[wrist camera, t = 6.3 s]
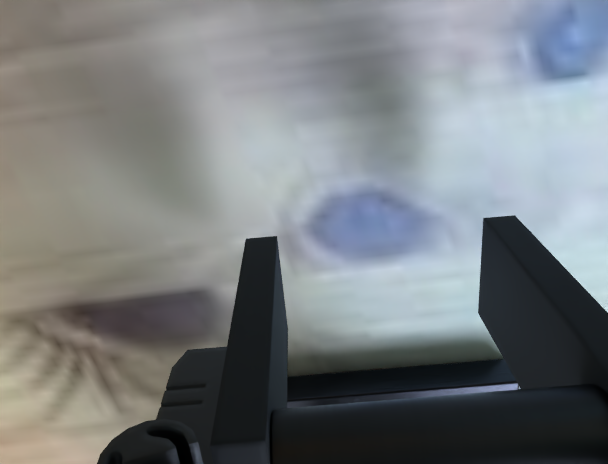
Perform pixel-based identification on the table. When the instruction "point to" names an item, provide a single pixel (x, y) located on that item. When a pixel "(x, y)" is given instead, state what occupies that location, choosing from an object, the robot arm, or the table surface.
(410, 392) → the bracket
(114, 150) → the table surface
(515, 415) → the lever
